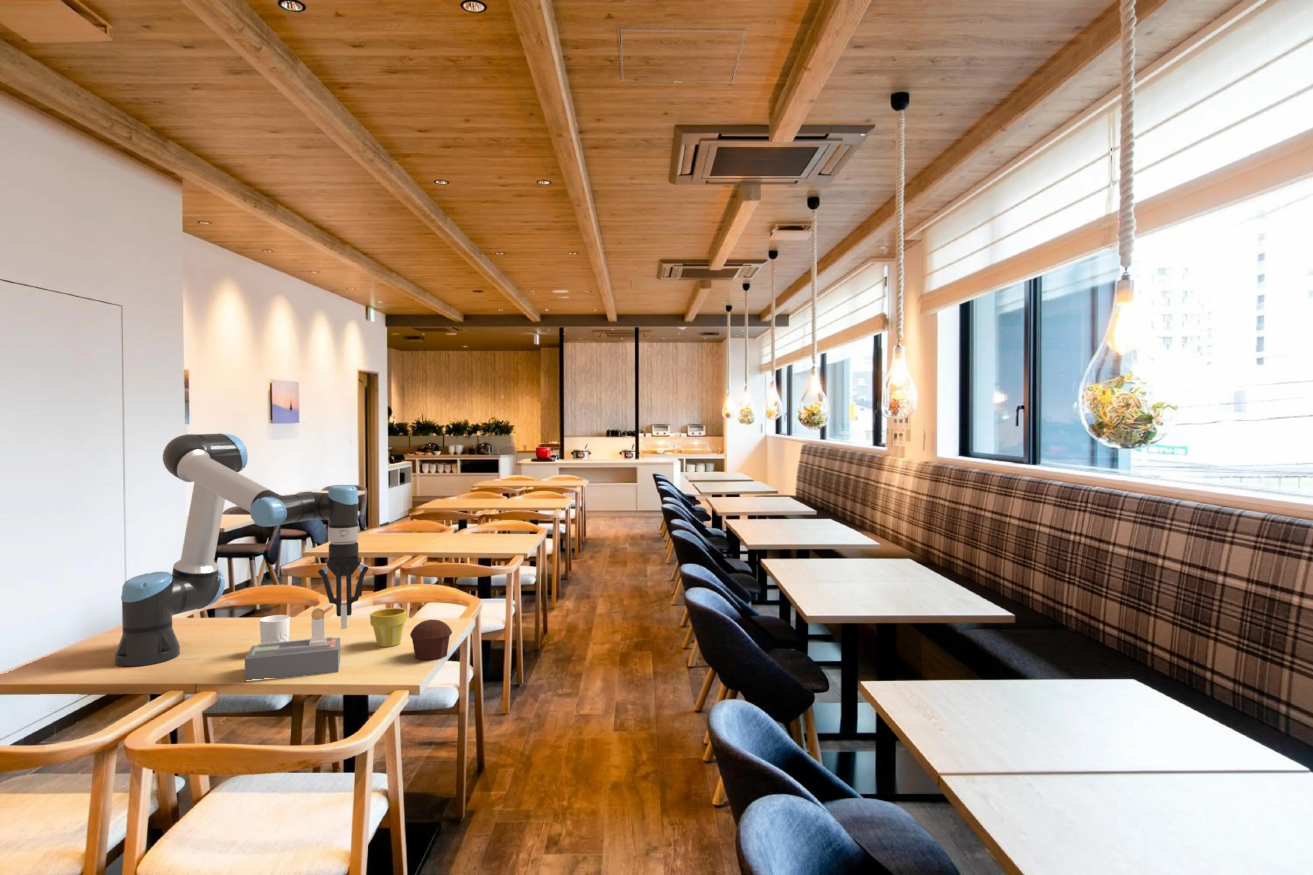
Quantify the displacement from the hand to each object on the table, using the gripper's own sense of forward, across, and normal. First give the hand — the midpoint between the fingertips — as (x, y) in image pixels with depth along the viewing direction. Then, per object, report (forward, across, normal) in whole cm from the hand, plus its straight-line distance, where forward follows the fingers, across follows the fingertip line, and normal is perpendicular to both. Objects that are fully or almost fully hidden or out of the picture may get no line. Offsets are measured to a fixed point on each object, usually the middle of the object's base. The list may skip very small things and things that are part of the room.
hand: (344, 627), depth 203 cm
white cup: (+11, -19, +19) cm, 29 cm away
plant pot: (+11, +12, +16) cm, 22 cm away
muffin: (+11, +23, -1) cm, 25 cm away
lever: (+4, -6, 0) cm, 8 cm away
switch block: (+10, -12, 0) cm, 16 cm away
